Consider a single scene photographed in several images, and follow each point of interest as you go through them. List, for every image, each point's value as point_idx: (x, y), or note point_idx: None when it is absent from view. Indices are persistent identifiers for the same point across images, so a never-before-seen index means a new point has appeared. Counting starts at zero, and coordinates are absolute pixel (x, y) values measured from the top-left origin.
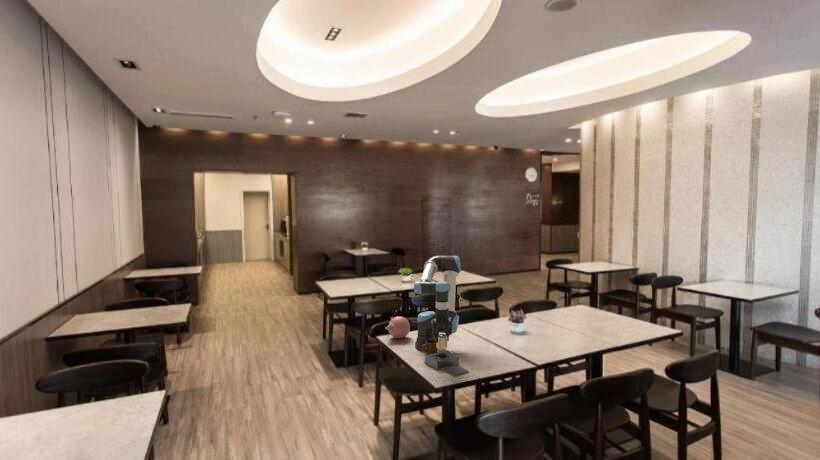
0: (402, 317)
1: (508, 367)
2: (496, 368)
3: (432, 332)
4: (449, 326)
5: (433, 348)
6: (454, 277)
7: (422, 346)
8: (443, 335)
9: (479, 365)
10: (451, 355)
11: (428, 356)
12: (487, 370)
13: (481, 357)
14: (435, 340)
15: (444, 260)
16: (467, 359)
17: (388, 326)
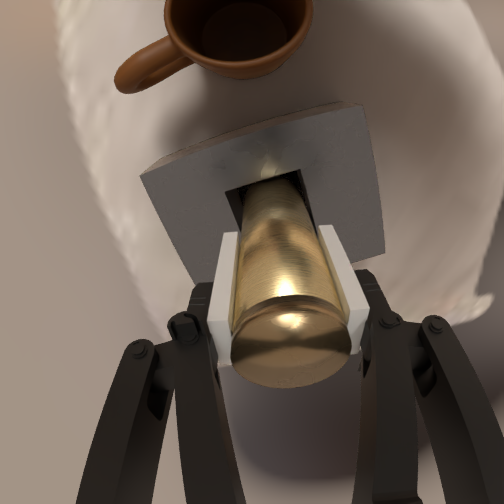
0: None
1: (488, 300)
2: (459, 302)
3: (119, 394)
4: (446, 448)
5: (242, 75)
6: None
7: (116, 86)
8: (304, 371)
9: (437, 264)
10: (345, 232)
11: (161, 205)
12: (424, 312)
13: (498, 183)
14: (192, 304)
15: None
16: (442, 178)
17: None
